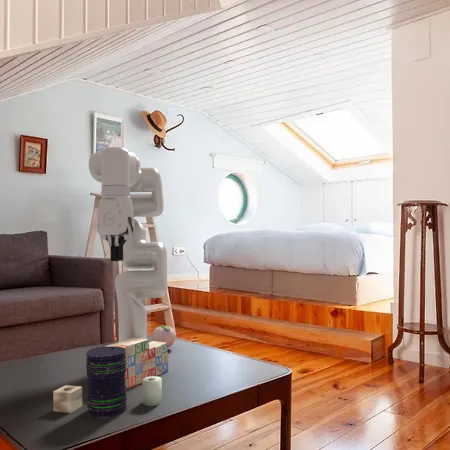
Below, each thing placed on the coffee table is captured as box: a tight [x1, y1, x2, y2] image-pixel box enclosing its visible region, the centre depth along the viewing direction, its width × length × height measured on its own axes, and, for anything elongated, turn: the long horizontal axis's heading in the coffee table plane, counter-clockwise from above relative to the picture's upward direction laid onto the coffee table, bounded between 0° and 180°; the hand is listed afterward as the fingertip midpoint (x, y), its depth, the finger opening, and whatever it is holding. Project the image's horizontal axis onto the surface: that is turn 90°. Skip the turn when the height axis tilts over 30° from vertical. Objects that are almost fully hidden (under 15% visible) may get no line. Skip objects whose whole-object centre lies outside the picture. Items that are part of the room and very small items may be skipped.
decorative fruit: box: [151, 324, 177, 349], centre depth 177 cm, size 9×8×10 cm
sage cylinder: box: [141, 376, 163, 407], centre depth 122 cm, size 5×5×6 cm
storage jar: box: [85, 345, 128, 419], centre depth 117 cm, size 10×10×15 cm
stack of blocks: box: [104, 338, 169, 390], centre depth 142 cm, size 21×6×12 cm, turn 148°
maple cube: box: [52, 384, 83, 414], centre depth 119 cm, size 5×5×5 cm
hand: (117, 260), depth 126 cm, fingers closed
